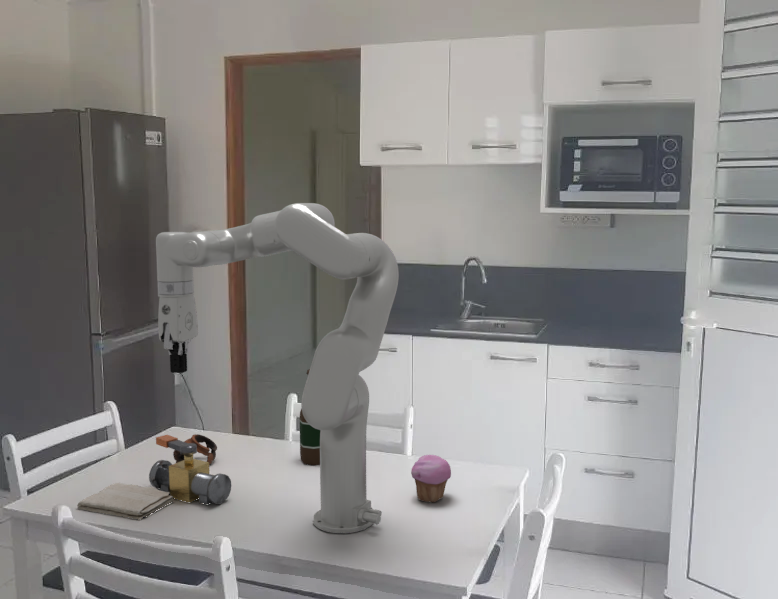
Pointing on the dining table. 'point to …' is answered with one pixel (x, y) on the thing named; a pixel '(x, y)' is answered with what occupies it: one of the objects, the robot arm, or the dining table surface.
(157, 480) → the valve body
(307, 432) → the beer bottle
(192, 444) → the lever
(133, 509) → the washcloth
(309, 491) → the dining table surface
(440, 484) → the cupcake
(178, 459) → the brown curved band
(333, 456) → the robot arm
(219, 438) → the dining table surface
